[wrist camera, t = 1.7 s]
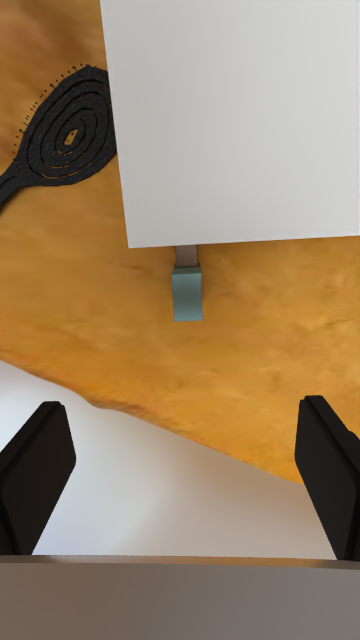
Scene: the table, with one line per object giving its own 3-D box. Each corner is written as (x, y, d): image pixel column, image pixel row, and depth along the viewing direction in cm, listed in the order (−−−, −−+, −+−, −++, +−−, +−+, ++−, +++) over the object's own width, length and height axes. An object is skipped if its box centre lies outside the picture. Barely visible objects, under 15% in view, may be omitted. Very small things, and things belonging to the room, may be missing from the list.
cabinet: (145, 95, 29) (95, -40, 14) (314, 80, 28) (455, -82, 13) (156, 236, 33) (128, 248, 19) (302, 227, 32) (395, 233, 18)
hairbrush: (-83, 200, 31) (85, 29, 24) (-54, 201, 34) (99, 51, 28) (-27, 263, 33) (140, 122, 26) (-6, 258, 37) (147, 132, 30)
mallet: (167, 135, 30) (160, 111, 23) (195, 133, 30) (195, 108, 23) (177, 303, 36) (174, 321, 30) (200, 302, 36) (202, 320, 29)
